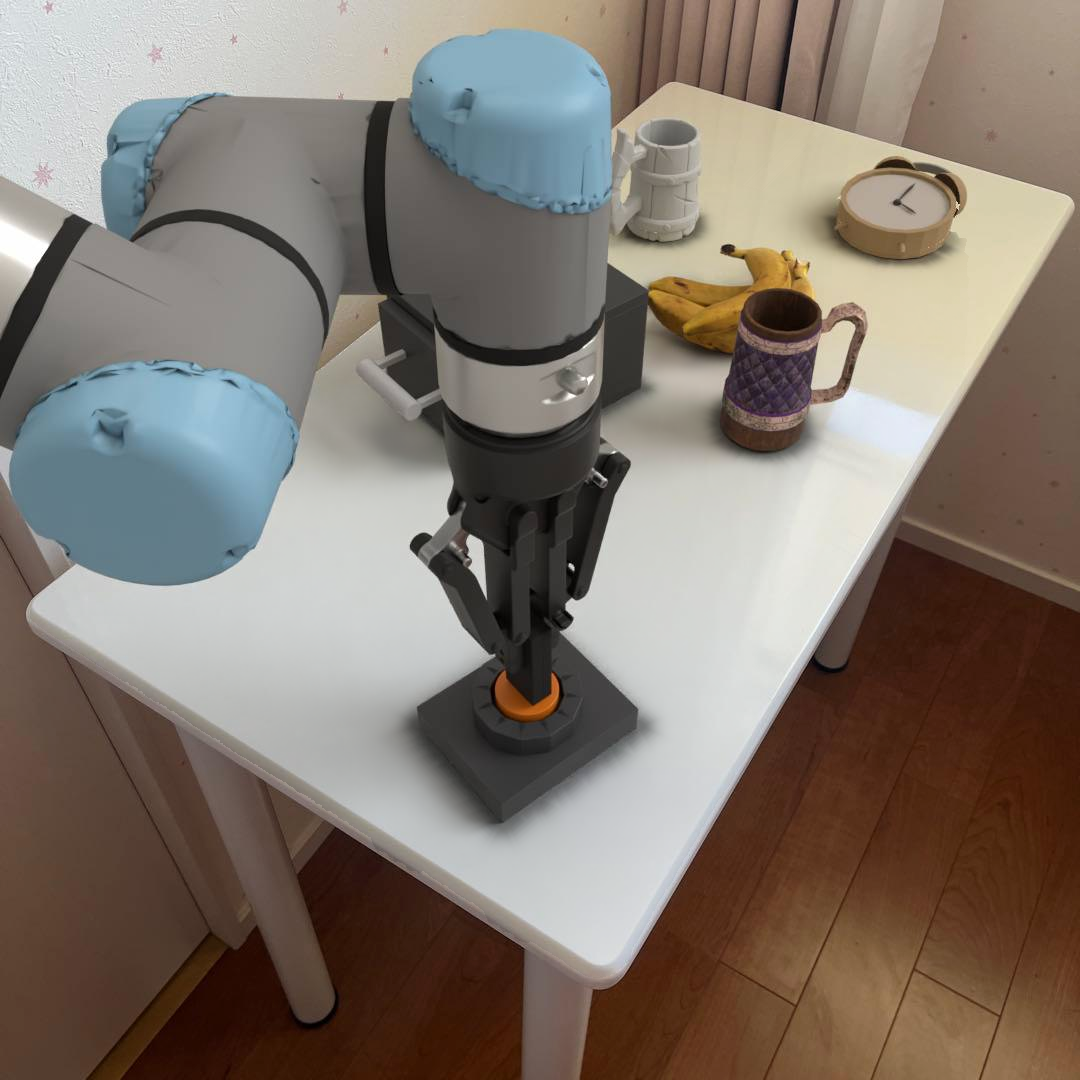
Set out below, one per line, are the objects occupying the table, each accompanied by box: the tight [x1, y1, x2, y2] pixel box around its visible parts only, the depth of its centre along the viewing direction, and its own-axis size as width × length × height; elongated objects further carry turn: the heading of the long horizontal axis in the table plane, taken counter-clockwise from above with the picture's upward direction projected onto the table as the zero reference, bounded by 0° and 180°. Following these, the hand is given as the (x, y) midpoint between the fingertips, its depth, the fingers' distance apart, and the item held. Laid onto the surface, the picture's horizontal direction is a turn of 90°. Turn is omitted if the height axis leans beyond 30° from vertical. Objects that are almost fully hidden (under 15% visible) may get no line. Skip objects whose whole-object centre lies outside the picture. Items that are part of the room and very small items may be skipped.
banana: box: [648, 243, 816, 354], centre depth 101 cm, size 15×19×6 cm
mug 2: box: [719, 288, 869, 452], centre depth 88 cm, size 10×7×12 cm
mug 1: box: [609, 116, 703, 243], centre depth 108 cm, size 8×12×12 cm, turn 128°
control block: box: [416, 632, 639, 824], centre depth 71 cm, size 11×9×4 cm
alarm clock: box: [833, 155, 968, 260], centre depth 112 cm, size 11×5×15 cm
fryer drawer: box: [355, 298, 444, 432], centre depth 90 cm, size 19×13×8 cm
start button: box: [495, 670, 559, 723], centre depth 69 cm, size 4×4×2 cm
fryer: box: [386, 262, 650, 410], centre depth 92 cm, size 16×14×10 cm
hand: (528, 685), depth 69 cm, fingers closed
